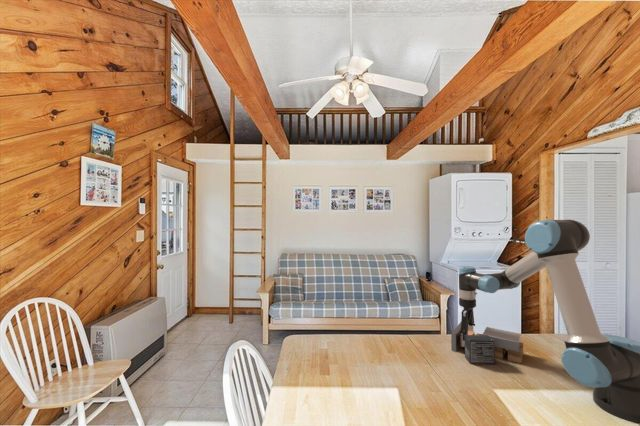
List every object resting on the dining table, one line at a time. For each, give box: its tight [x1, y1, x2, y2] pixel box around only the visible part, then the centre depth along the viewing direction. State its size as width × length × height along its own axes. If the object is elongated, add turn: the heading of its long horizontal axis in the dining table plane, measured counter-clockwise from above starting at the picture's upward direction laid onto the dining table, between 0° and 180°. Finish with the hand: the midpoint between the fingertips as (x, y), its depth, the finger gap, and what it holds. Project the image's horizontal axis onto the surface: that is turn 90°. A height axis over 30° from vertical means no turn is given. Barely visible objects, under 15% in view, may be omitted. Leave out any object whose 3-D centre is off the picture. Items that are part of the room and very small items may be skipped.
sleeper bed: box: [475, 333, 524, 364], centre depth 142 cm, size 11×19×5 cm, turn 52°
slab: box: [481, 326, 522, 352], centre depth 141 cm, size 12×14×4 cm
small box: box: [464, 334, 496, 366], centre depth 134 cm, size 11×6×10 cm, turn 84°
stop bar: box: [450, 321, 462, 352], centre depth 152 cm, size 20×2×8 cm, turn 142°
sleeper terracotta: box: [460, 330, 476, 347], centre depth 149 cm, size 11×4×4 cm, turn 142°
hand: (467, 342), depth 149 cm, fingers closed on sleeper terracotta, 11 cm apart
